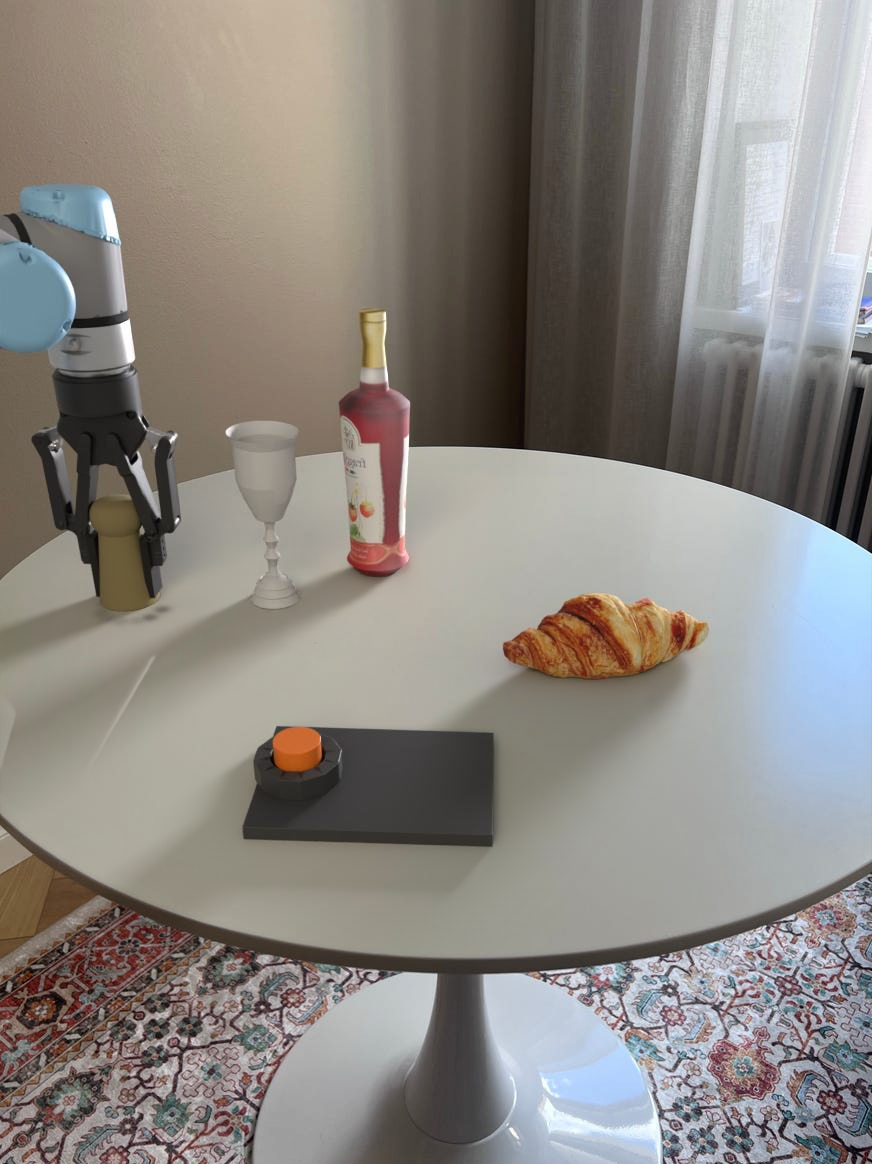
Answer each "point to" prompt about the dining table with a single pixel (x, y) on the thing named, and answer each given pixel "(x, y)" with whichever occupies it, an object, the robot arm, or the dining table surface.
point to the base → (379, 790)
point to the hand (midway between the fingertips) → (129, 591)
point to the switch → (297, 749)
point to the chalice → (267, 495)
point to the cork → (120, 554)
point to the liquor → (375, 457)
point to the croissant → (605, 638)
